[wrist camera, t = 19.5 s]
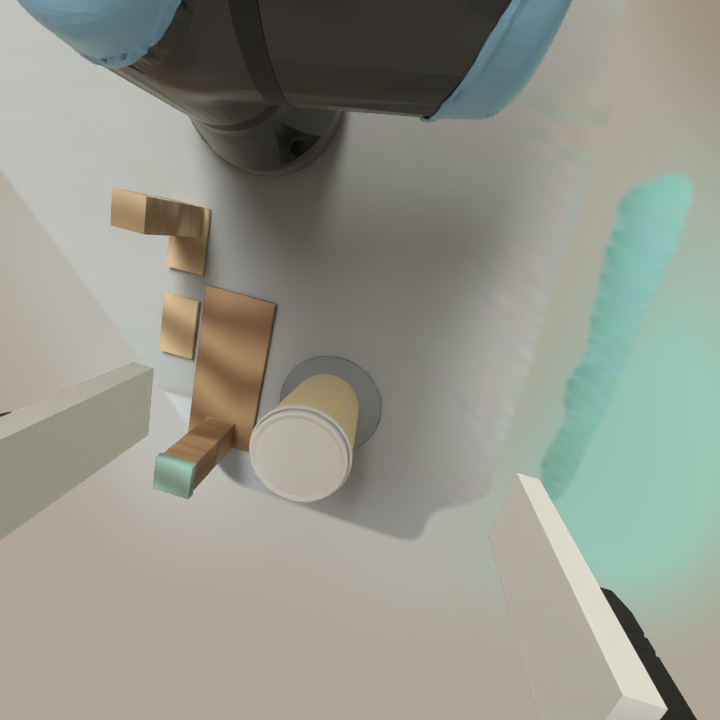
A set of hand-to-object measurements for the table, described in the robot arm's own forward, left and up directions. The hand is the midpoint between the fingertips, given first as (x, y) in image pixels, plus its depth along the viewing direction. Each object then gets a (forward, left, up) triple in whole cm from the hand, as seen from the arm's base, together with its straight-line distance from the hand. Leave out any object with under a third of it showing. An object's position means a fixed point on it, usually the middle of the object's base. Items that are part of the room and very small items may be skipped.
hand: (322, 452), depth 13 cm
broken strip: (+4, -22, -29) cm, 36 cm away
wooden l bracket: (+11, -16, -29) cm, 35 cm away
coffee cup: (+12, -3, -28) cm, 31 cm away
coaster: (+12, -3, -29) cm, 31 cm away
